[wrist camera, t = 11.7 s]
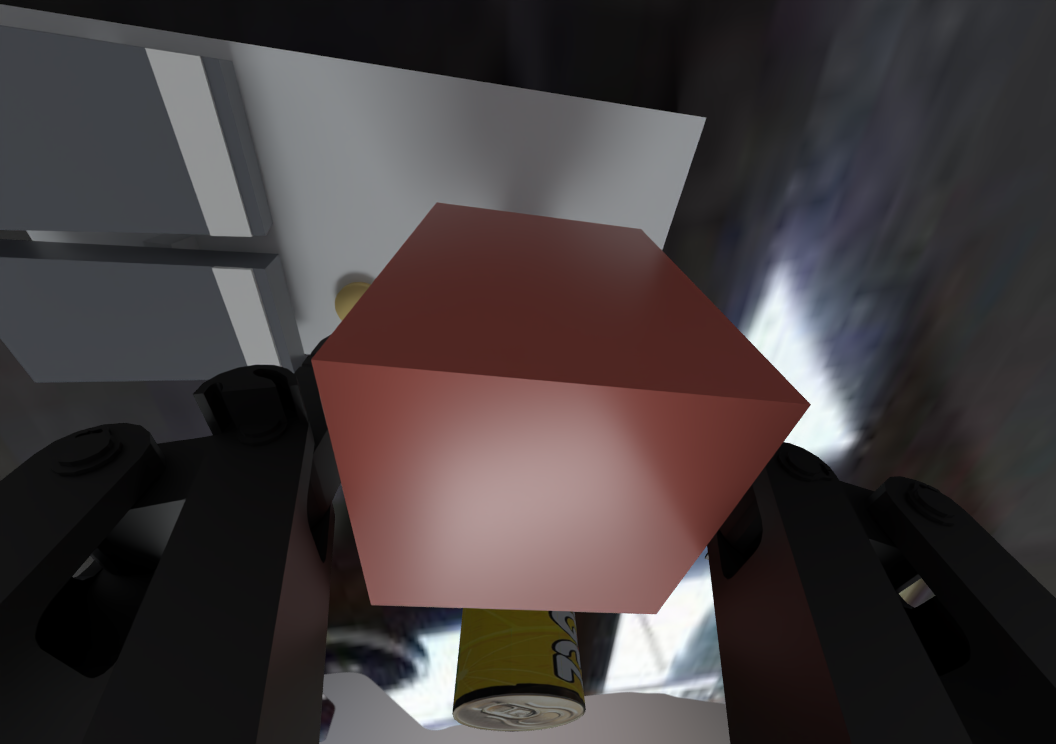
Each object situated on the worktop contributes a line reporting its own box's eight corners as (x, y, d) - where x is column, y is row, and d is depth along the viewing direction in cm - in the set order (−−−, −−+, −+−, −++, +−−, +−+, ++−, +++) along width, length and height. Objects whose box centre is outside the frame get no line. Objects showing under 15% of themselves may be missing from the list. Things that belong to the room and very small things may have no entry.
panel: (141, 307, 20) (-32, 403, 14) (-12, 4, 14) (-495, -84, 7) (607, 351, 23) (644, 450, 16) (677, 115, 16) (786, 124, 10)
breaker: (-63, 211, 12) (-114, 228, 11) (-225, -10, 9) (-324, -25, 8) (273, 223, 15) (264, 237, 14) (232, 60, 12) (217, 58, 11)
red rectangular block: (438, 373, 14) (371, 605, 8) (436, 202, 11) (311, 359, 4) (594, 387, 15) (656, 614, 8) (641, 228, 11) (811, 404, 5)
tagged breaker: (66, 359, 16) (31, 384, 14) (-18, 238, 13) (-71, 255, 12) (305, 357, 18) (295, 380, 17) (279, 253, 15) (263, 270, 14)
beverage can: (525, 578, 39) (528, 737, 29) (450, 550, 36) (426, 720, 26) (585, 539, 35) (613, 708, 25) (509, 504, 32) (507, 683, 22)
